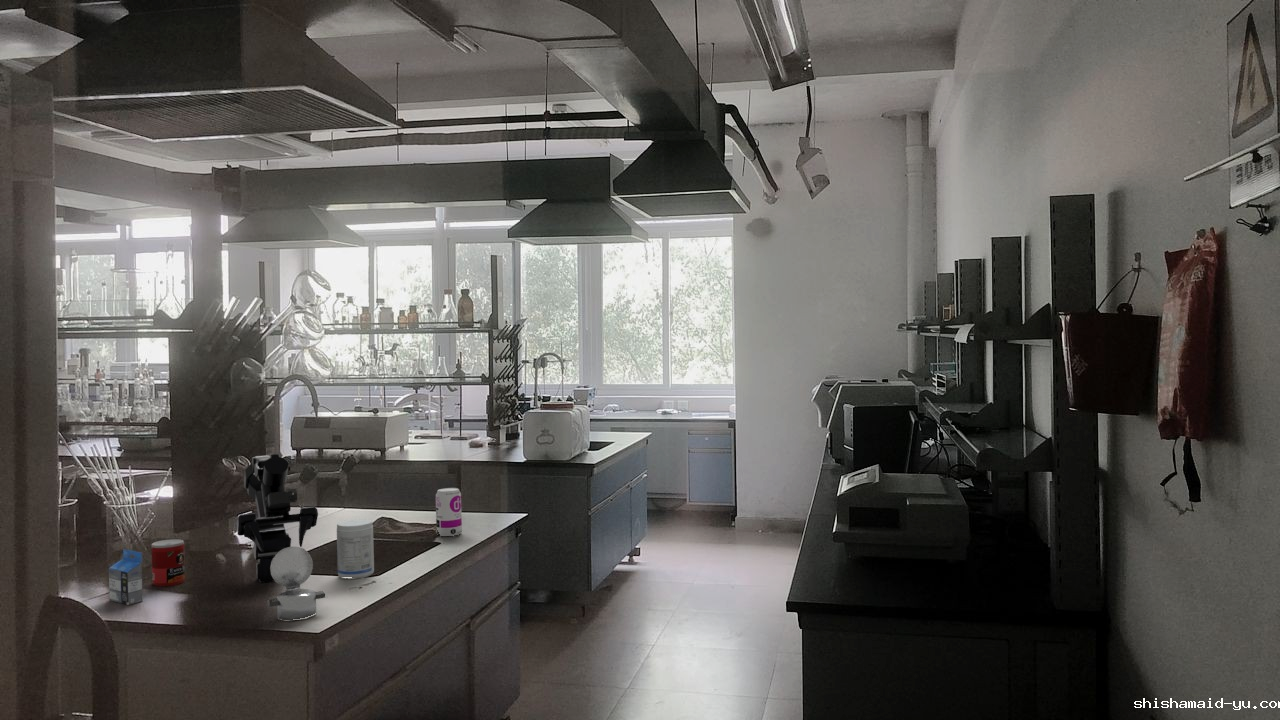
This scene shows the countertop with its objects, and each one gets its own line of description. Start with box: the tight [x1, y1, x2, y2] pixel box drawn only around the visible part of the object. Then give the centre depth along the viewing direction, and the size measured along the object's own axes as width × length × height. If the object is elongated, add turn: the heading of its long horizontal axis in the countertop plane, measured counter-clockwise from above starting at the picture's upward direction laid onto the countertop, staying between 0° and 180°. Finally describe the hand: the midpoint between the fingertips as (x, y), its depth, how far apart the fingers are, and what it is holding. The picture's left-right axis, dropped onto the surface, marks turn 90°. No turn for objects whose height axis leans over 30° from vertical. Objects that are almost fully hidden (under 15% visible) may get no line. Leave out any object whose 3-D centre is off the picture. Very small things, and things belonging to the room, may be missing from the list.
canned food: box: [150, 538, 186, 587], centre depth 229 cm, size 8×8×11 cm
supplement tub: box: [336, 518, 375, 580], centre depth 233 cm, size 10×10×15 cm
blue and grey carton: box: [108, 548, 143, 606], centre depth 213 cm, size 9×4×12 cm, turn 59°
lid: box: [270, 546, 314, 590], centre depth 203 cm, size 10×9×2 cm
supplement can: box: [435, 487, 463, 537], centre depth 281 cm, size 8×8×15 cm
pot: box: [267, 587, 326, 620], centre depth 198 cm, size 12×10×5 cm
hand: (282, 548), depth 212 cm, fingers open, 9 cm apart
